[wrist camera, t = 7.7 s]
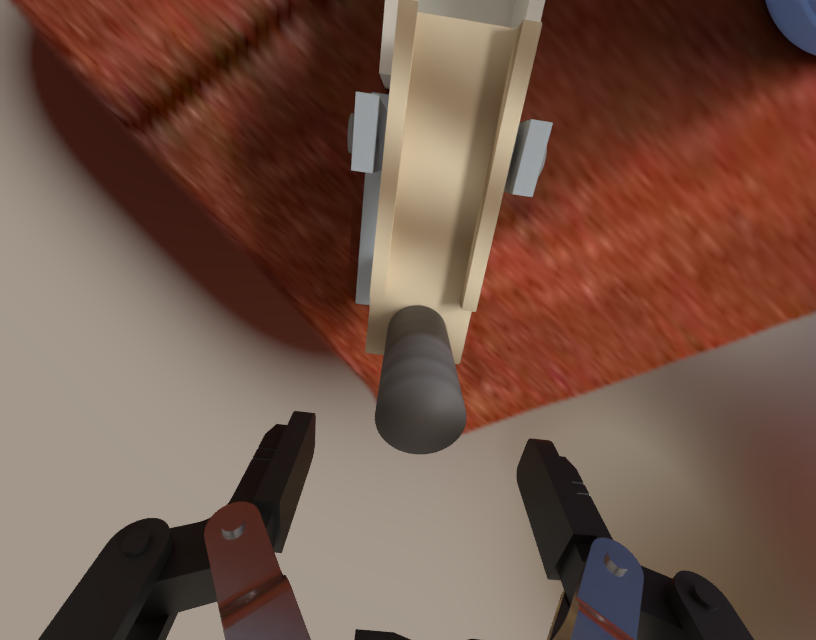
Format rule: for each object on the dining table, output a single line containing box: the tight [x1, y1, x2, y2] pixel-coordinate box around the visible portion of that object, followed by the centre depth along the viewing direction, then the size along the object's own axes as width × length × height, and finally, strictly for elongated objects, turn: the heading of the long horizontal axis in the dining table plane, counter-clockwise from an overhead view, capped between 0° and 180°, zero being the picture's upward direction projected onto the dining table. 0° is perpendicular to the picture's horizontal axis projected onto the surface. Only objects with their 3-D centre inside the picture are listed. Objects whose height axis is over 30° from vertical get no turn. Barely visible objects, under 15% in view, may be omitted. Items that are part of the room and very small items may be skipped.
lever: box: [365, 0, 542, 454], centre depth 15 cm, size 17×6×9 cm, turn 172°
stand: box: [347, 91, 553, 305], centre depth 22 cm, size 15×10×9 cm, turn 172°
